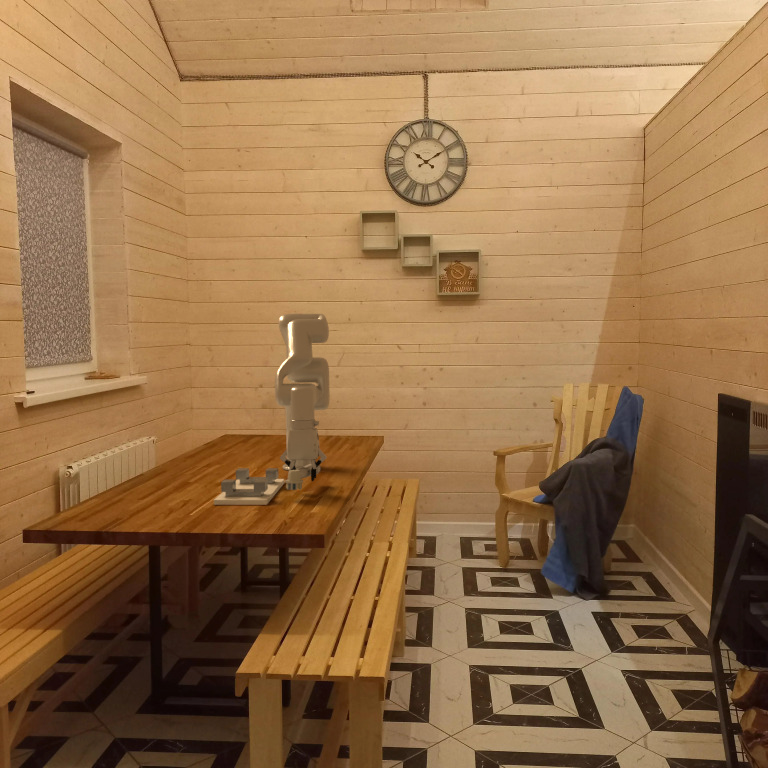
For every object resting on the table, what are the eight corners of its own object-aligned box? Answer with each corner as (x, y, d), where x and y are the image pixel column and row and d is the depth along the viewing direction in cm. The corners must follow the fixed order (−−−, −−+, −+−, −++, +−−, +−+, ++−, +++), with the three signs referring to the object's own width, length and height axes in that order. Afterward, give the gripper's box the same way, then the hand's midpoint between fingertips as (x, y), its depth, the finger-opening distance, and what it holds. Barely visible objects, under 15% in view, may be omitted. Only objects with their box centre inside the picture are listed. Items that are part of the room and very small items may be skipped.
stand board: (238, 483, 235) (238, 478, 235) (284, 483, 235) (284, 478, 235) (213, 504, 205) (213, 499, 205) (266, 504, 205) (266, 499, 205)
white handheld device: (322, 462, 232) (299, 468, 207) (322, 482, 232) (298, 490, 207) (308, 461, 233) (283, 467, 208) (307, 481, 233) (282, 489, 208)
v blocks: (238, 481, 231) (238, 468, 231) (278, 481, 231) (278, 468, 230) (221, 496, 209) (221, 482, 209) (265, 496, 209) (264, 482, 208)
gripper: (330, 423, 222) (331, 477, 224) (278, 422, 222) (279, 477, 224) (328, 426, 214) (328, 483, 216) (273, 426, 215) (275, 483, 217)
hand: (303, 479), depth 220 cm, fingers closed on white handheld device, 5 cm apart
